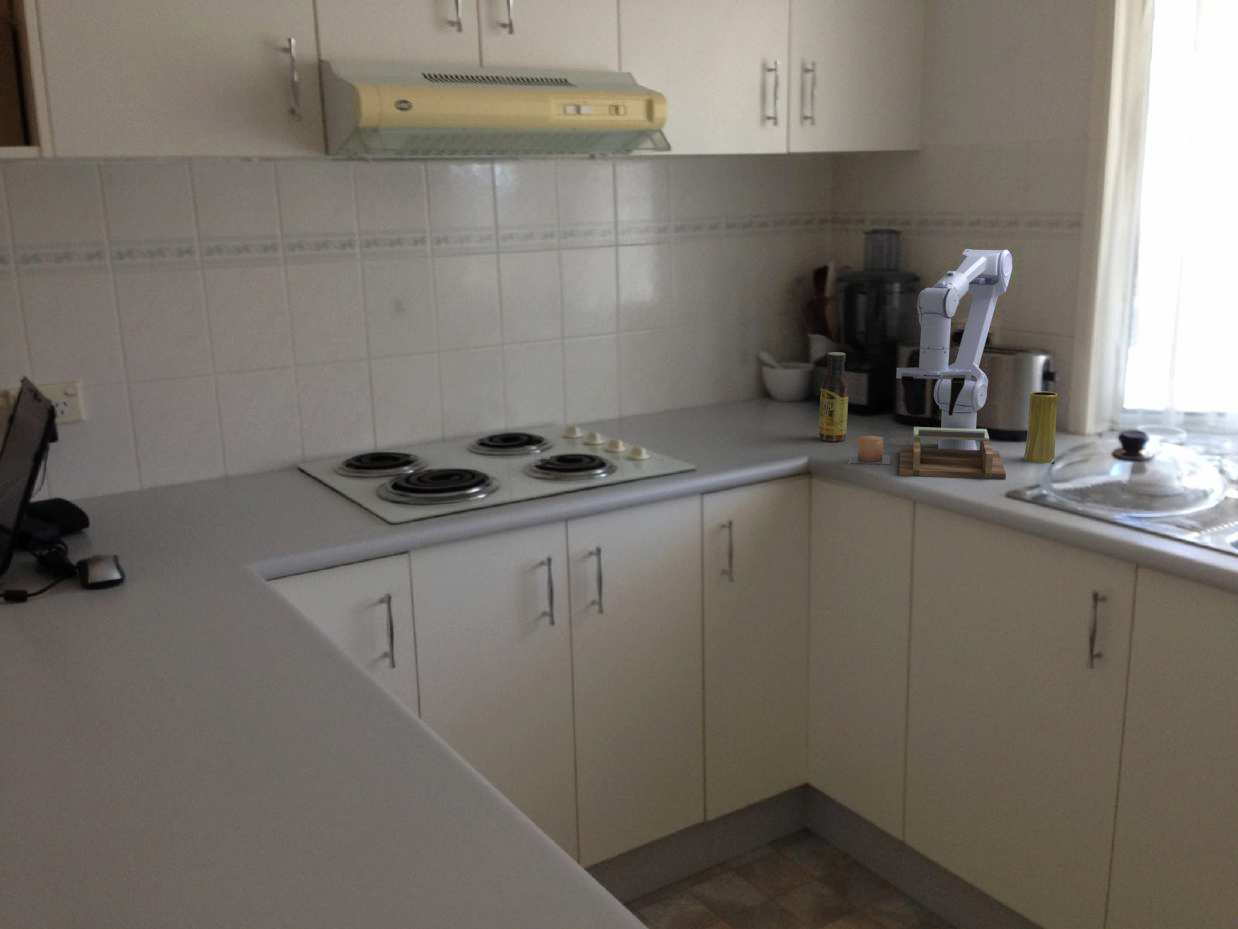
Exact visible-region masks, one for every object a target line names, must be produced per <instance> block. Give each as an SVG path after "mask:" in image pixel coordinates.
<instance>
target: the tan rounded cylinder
mask: <svg viewBox="0 0 1238 929" xmlns="http://www.w3.org/2000/svg"><path fill="white" fill-rule="evenodd" d="M857 445H858V447H857V448H858V450H857V451H858V452H857V454H858V460H860V461H864V462H879V461H882V458H883V455H884V454H883V453H884V450H883V449H884V438H883V437H882V436H876V435H862V436H859V437H858V444H857Z"/></svg>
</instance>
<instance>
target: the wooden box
mask: <svg viewBox="0 0 1238 929" xmlns="http://www.w3.org/2000/svg"><path fill="white" fill-rule="evenodd" d="M912 438H913V440H912V445H913V446H912V447H907V446H906V447H904V446H903V447H900V448H899V449H900V450H899V451H900V452H899V473H898V474H899V476H907V477H908V476H909V477H912V476H913V477H934V478H955V479H956V478H960V479H961V478H962V479H985V480H1006V478H1007V473H1006V470H1005V467H1004V464H1003V460H1002V457H1001V455H1000V451H999V450H993V449H992V446H991V443H990V440H989V441H982V440H979V449H977V450H963V449H938V448H934V447H933V448H929V447H926V448H925V447H921V438H914V435H913V436H912Z"/></svg>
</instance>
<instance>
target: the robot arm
mask: <svg viewBox="0 0 1238 929" xmlns="http://www.w3.org/2000/svg"><path fill="white" fill-rule="evenodd" d="M1012 272H1013V257H1012V254H1011V253H1010V250H1008V249H1003V250H1002V249H999V250H998V249H996V250H995V249H994V250H993V249H971V248H965V249H964V250H963V252H962V253H961V254H960V257H959V262H958V267H957V269H956V270H947V272H946V273H945V275H943V276H941V278H940V279H939V280H938V281H937V282H936V283H935V284H934V285H933V286H932V287H926V288H924V289H922V290H920V293H919V294H918V298H917V301H916V302H917V303H916V308H917V313H918V322H919V325H920V328H921V329H920V341H919V342H920V344H919V345H920V346H919V364H918V365H919V366H918V367H896V377H895V378H896V379H901V383H902V386H903V388H904V391H905V395H906V397H907V401H908V406H909V415H914V410H915V408H914V392H915V391H914V390H915V379H925V380H926V379H929V380H931V379H932V380H937V381H936V382H935V385H934V389H933V398H934V401H935V403H936V405H938V407H939V408H938V409H939V410H941V420H940V421H941V423H940V424H941V425H940V426H941V427H940V428H964V429H977V415H978V413H977V412H978V411H979V410H981V409H982V408H983V407H984V406H985V404H986V401H987V395H988V385H989V379H988V376H987V375H986V373H985V372H984V371H982V369H981V368H980V363H981V360H982V356H983V352H984V348H985V345H986V342H987V338H988V335H989V334H988V333H989V330H990V327H991V323H992V320H993V316H994V312H995V309H996V305H997V303H998V302H997V301H998V299H999V296H1001V295H1003V294H1005V293H1006V291H1007V288H1008V286H1009V283H1010V279H1011V275H1012ZM967 293H968V294H971V295H972V296H973V297H972V302H971V305H970V308H969V311H968V316H967V319H966V323H965V327H964V330H963V332H962V333H963V334H962V337H961V340H960V344H959V348H958V351H957V356H956V359H955V362H954V363H951V364H950V365H949V359H950V342H951V325H952V324H951V323H952V317H954V316H955V315H956V312H957V308H958V306H959V303H960V300H961V299H962V298H963V297H964V296H965V295H966V294H967ZM937 449H963V450H978V448H977V444H976V440H952V439H940V441H939V440H937Z"/></svg>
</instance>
